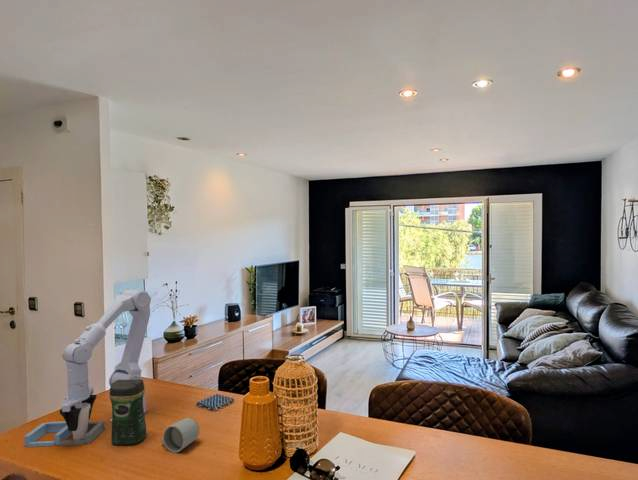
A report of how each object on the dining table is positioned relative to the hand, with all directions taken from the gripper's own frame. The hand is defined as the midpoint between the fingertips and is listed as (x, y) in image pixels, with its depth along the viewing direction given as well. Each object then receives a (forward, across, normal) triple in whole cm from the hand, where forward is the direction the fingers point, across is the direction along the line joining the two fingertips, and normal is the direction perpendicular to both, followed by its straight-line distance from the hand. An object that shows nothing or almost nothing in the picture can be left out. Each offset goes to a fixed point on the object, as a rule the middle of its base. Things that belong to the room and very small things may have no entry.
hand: (79, 424), depth 133 cm
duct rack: (+4, 0, -4) cm, 6 cm away
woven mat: (+5, -22, +38) cm, 44 cm away
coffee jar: (+4, +3, +16) cm, 17 cm away
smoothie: (+4, 0, 0) cm, 4 cm away
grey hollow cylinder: (+4, +8, +33) cm, 34 cm away
